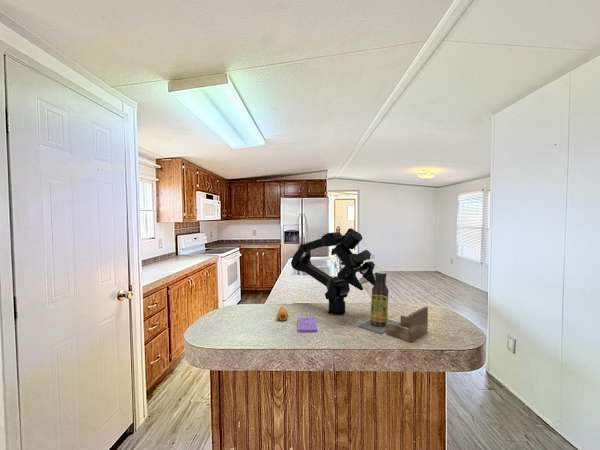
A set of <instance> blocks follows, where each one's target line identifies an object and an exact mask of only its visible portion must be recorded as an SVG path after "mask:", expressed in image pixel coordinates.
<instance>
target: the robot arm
mask: <svg viewBox="0 0 600 450" xmlns="http://www.w3.org/2000/svg"><path fill="white" fill-rule="evenodd" d="M362 241H363V236H362V234H361V233H360V232H358V231H357V230H355V229H353V228H352V227H351V228H348V229H347V231H346V232H345V233H344V234H342V233H341V232H338V231H337V232H336V231H335V232H334V231H333V232H327V233H325V234H324V235H323V236H321V237H320V238H319V239H314V240H311V241H309V242H305V243H301V244H300V245H299V247H298V249H297V251H296V252H295V253H294V254H293V256H292V259H291V261H290V264H291V265H290V266H291V267H292V269H293V270H294V271H296V272H301V273H302V272H303V273H305V274H307V275H309V276H310V277H312V278H313V279H314V280H316V281H318V282H319V283H321V284H322V285H323V286H325V287H326V290H327V291H325V293H324V297H325V299H326V300H328V312H327V314H328V315H340V316H344V313H346V300H345V298H347V297H348V295H349V293H350V291H351V290H350V289H351V287H350V285H351V286H353V287H354V288H355V289H357V290H360V291H363V290H364V287H363V285H362V283H361V282H360V280H359V278H358V277H357V273H360V275H362V276H361V277H363V278H364V279H365V280H367V282H368V283H370V284H371V285H372V286H374V285H375V282H376V277H375V274H374V269H375V266H376V264H375V263H374V262H373V261H372V260H371V256H372V252H370V251H369V250H368V249H365V250H362V251H361V252H358V253H353V251H351V250H355V248H356V247H357V246H358V245H359V244H360V242H362ZM324 247H335V248H331V252H330V255H331V256H337V257H338V259H339V260H340V261H341V262H340V265H341V266H343V267H342V268H340V270H339V271H338V273H337V276H334V277H332V276H331V275H330V274H327V273H326V272H325V271H324V270H321V269H320V268H318V267H317V266H315V265H313V264H312V262H311V261H312V260H311V258H312V255H311V252H312V251H314V250H318V249H321V248H322V249H323V248H324ZM369 260H370V261H369Z"/></svg>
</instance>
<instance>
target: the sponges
mask: <svg viewBox="0 0 600 450" xmlns="http://www.w3.org/2000/svg"><path fill="white" fill-rule="evenodd" d="M297 322H298V323H297V332H298V333H299V332H300V333H299V334H303V333H305V334H306V333H307V334H308V333H311V334H312V333H314V334H315V333H318V325H317V318H316V316H309V317H308V316H305V317H299V316H298V317H297Z"/></svg>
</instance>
